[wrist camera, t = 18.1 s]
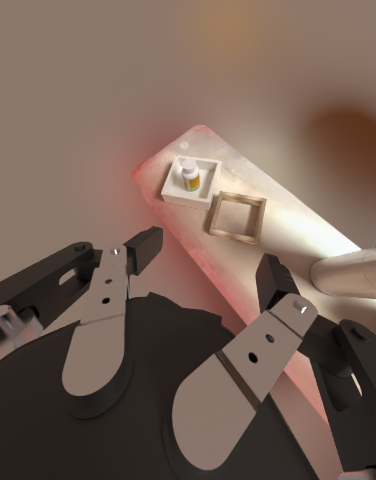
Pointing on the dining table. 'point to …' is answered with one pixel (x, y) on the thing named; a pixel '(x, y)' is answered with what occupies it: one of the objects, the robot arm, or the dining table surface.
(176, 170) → the bin
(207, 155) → the dining table surface
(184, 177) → the supplement bottle
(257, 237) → the frame
